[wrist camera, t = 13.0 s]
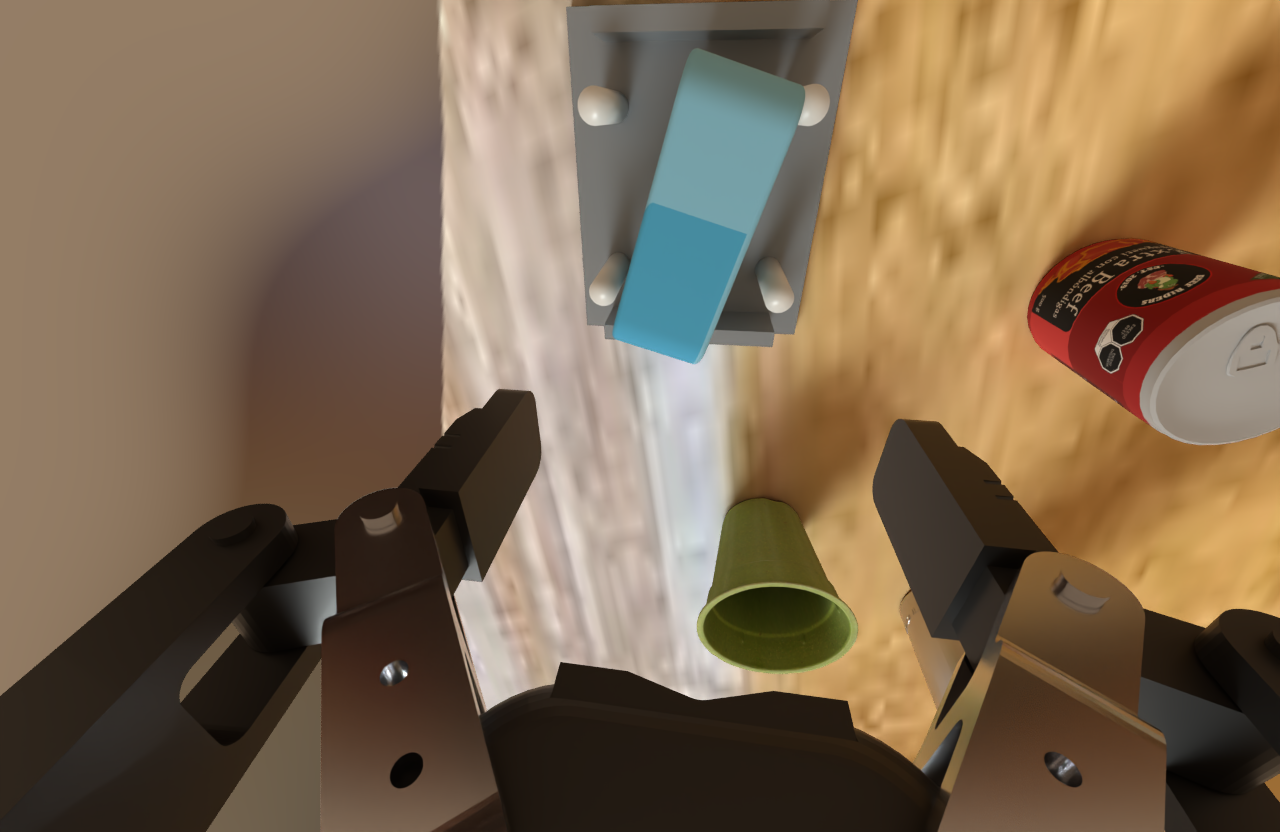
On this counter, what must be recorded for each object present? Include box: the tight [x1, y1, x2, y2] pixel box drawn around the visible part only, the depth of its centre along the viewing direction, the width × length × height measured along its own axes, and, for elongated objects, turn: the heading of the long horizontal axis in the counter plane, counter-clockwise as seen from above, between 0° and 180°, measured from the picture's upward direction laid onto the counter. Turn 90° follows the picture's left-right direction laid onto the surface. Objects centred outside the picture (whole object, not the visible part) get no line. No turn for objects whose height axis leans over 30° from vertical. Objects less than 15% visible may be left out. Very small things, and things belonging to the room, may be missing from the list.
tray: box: [566, 0, 858, 347], centre depth 27 cm, size 15×18×7 cm
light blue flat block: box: [612, 48, 805, 364], centre depth 24 cm, size 12×4×12 cm, turn 164°
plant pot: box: [697, 498, 858, 674], centre depth 40 cm, size 12×12×11 cm
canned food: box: [1027, 238, 1280, 445], centre depth 26 cm, size 8×8×11 cm
